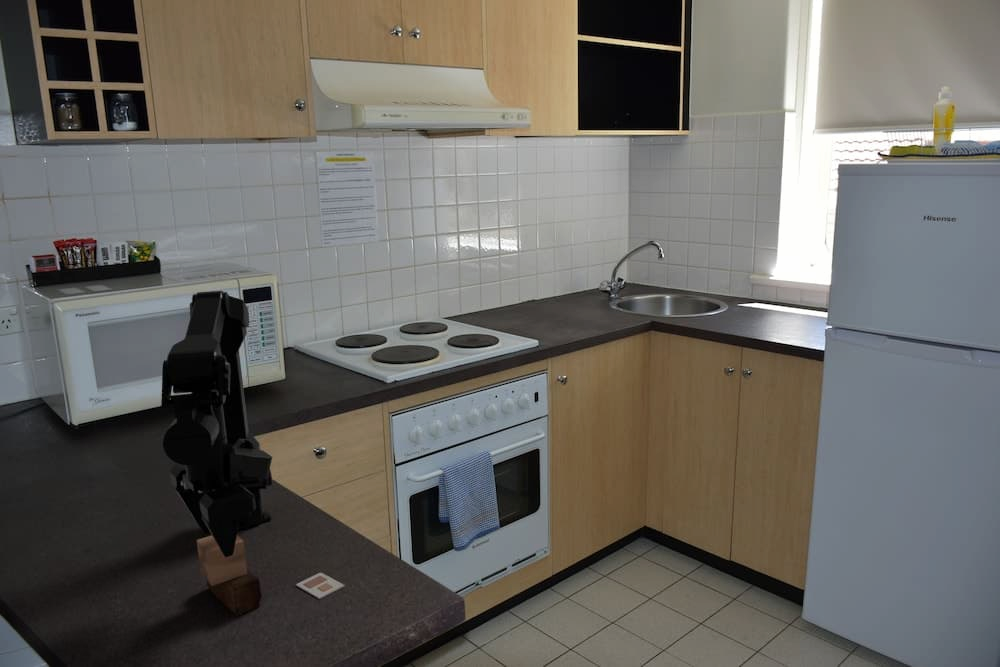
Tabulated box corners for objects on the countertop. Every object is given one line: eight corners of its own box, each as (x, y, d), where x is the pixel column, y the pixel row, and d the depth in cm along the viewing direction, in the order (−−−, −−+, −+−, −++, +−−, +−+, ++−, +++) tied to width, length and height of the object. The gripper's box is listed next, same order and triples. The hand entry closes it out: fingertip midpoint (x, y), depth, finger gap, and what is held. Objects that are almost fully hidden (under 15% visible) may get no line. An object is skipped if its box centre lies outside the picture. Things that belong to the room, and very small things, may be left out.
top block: (200, 572, 110) (196, 540, 109) (235, 560, 113) (231, 529, 112) (211, 586, 106) (207, 552, 105) (247, 573, 109) (243, 541, 108)
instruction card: (295, 585, 114) (295, 583, 114) (320, 573, 117) (320, 571, 117) (319, 599, 110) (319, 597, 110) (344, 586, 113) (344, 584, 113)
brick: (263, 607, 109) (260, 576, 108) (236, 618, 106) (233, 587, 105) (232, 580, 116) (229, 551, 116) (207, 590, 114) (203, 561, 113)
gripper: (287, 441, 102) (298, 549, 106) (239, 411, 117) (250, 506, 120) (202, 463, 96) (217, 577, 99) (162, 428, 110) (176, 528, 114)
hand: (217, 544), depth 108 cm, fingers open, 9 cm apart
